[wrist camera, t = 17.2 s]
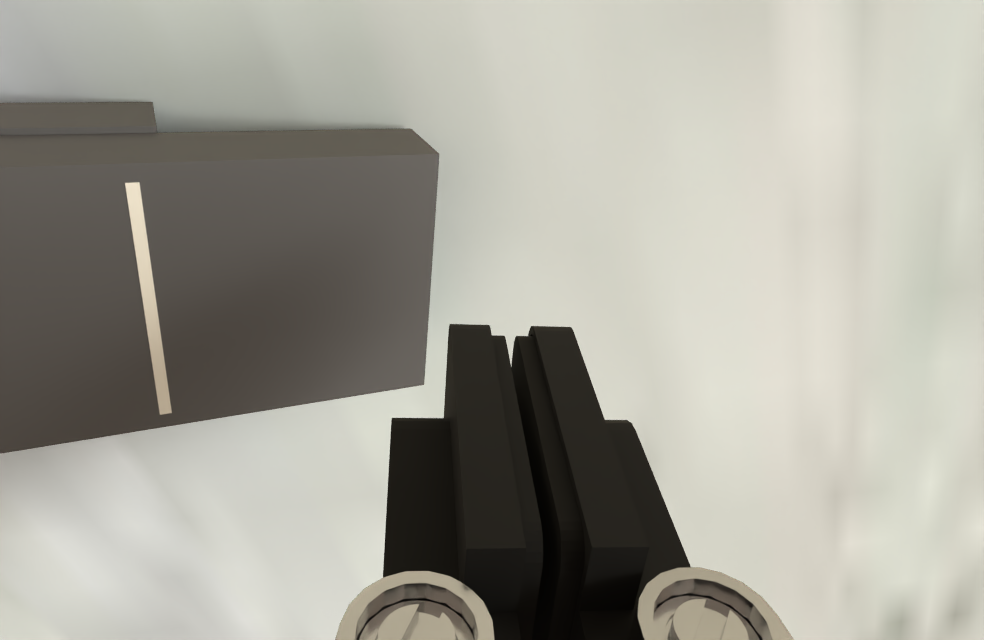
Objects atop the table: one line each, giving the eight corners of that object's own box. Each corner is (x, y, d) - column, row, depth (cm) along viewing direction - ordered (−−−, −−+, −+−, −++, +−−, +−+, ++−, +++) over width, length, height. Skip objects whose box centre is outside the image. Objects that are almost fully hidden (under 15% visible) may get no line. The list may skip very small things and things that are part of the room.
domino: (400, 345, 17) (-148, 421, 13) (410, 128, 14) (-264, 139, 10) (424, 385, 16) (-177, 483, 12) (439, 154, 13) (-317, 178, 9)
